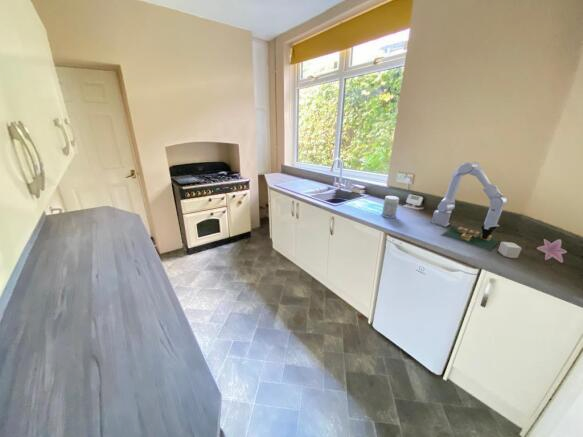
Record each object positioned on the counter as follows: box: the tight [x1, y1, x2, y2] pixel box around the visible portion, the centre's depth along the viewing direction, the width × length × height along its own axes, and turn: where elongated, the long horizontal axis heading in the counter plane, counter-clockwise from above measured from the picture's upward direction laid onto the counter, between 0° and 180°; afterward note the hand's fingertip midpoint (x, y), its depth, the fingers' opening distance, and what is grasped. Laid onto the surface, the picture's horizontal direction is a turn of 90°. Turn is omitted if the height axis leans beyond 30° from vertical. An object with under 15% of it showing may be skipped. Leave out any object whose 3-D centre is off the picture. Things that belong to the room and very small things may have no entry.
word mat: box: [442, 227, 499, 251], centre depth 143 cm, size 24×20×1 cm
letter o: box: [460, 233, 472, 241], centre depth 140 cm, size 4×4×2 cm
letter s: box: [480, 233, 493, 241], centre depth 141 cm, size 4×4×2 cm
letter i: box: [457, 226, 469, 234], centre depth 150 cm, size 4×4×2 cm
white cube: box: [497, 241, 523, 259], centre depth 124 cm, size 6×6×6 cm
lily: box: [536, 238, 568, 264], centre depth 122 cm, size 12×12×10 cm
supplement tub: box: [381, 195, 400, 219], centre depth 172 cm, size 10×10×15 cm
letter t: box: [468, 229, 480, 237], centre depth 146 cm, size 4×4×2 cm
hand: (485, 237), depth 141 cm, fingers closed on letter s, 4 cm apart
